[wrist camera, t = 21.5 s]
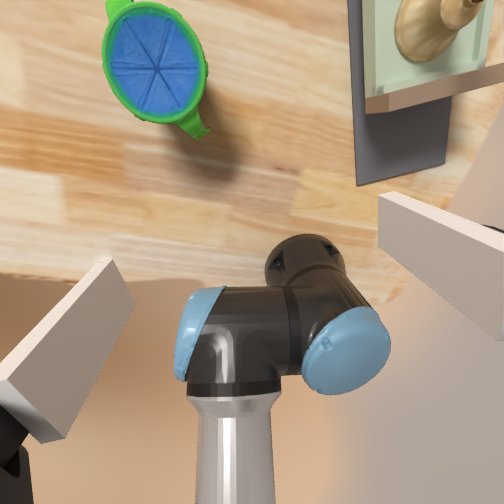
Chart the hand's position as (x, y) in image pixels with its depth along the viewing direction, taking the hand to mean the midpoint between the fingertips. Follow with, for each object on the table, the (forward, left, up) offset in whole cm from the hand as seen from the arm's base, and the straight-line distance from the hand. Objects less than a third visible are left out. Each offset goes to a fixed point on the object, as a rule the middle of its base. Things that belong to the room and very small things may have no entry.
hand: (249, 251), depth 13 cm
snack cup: (+13, +5, -32) cm, 35 cm away
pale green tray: (+12, -27, -31) cm, 43 cm away
